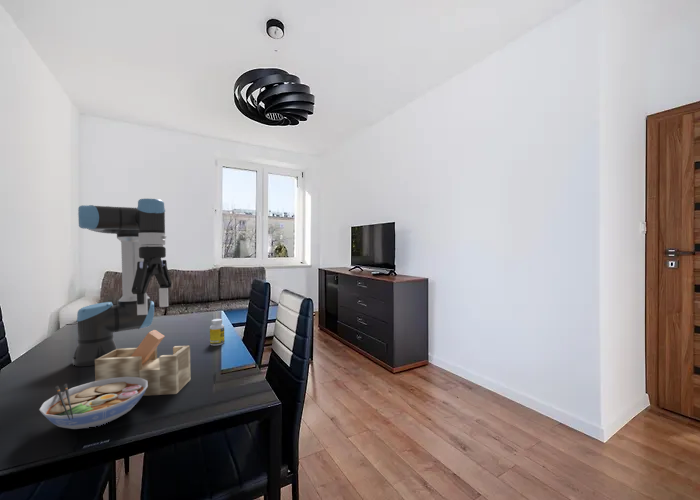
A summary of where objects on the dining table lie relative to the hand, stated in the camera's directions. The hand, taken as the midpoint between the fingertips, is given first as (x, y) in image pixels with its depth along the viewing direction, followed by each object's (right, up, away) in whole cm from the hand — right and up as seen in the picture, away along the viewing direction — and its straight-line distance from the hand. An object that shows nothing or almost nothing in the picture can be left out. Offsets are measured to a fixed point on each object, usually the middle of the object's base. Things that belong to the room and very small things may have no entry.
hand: (153, 310), depth 105 cm
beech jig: (-3, -26, 0) cm, 26 cm away
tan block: (-3, -17, 0) cm, 18 cm away
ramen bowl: (-3, -26, -19) cm, 33 cm away
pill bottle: (+1, -25, +48) cm, 54 cm away
